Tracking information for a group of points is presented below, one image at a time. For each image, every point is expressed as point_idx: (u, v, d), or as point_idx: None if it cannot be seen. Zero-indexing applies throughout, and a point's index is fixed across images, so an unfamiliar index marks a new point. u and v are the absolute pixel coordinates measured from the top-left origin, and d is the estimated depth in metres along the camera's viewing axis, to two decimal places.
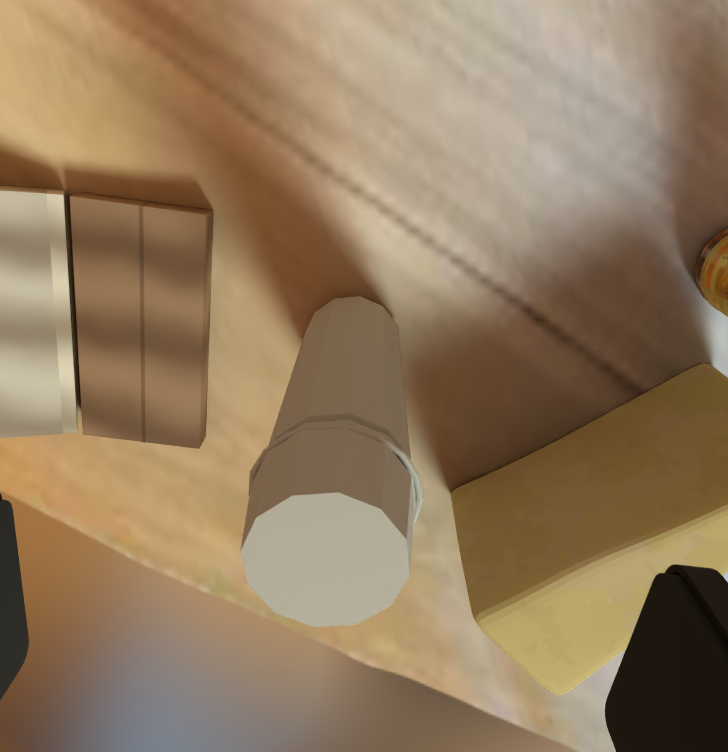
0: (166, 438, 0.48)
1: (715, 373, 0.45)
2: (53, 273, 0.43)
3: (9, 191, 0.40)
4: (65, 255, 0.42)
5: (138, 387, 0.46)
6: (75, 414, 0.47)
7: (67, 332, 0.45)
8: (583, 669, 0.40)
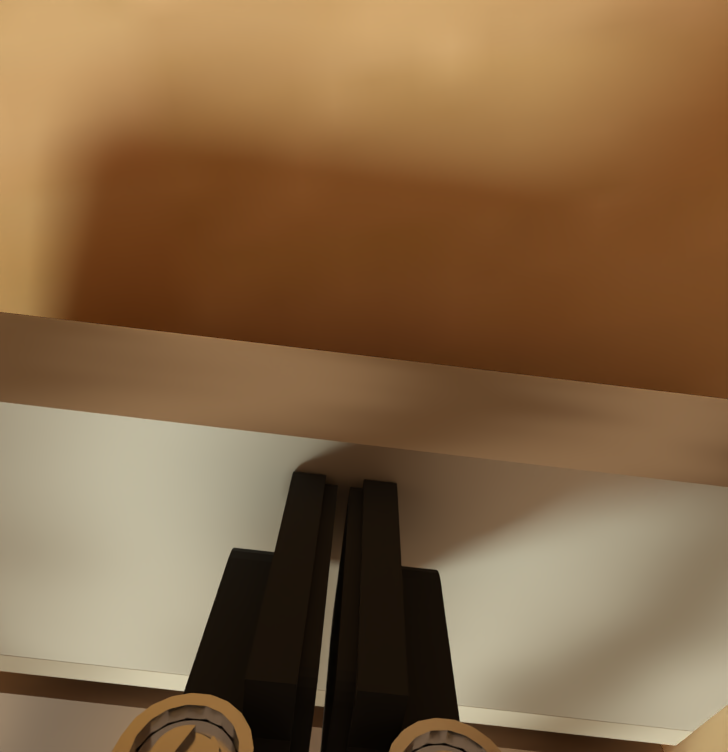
0: None
1: None
2: (476, 708, 0.15)
3: None
4: (519, 727, 0.16)
5: None
6: (32, 671, 0.16)
7: None
8: None
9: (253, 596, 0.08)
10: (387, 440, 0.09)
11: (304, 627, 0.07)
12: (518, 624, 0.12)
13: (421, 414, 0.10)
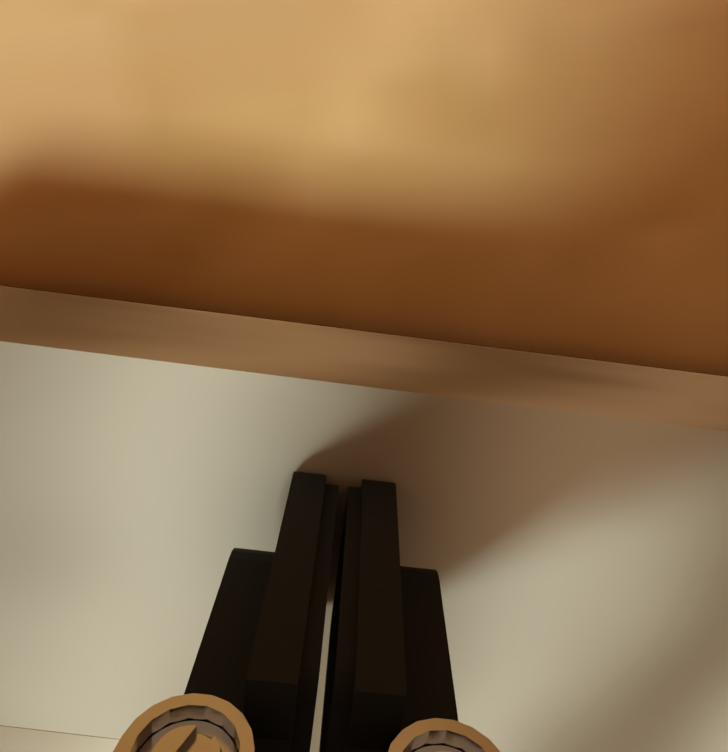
0: None
1: None
2: None
3: None
4: None
5: None
6: None
7: None
8: None
9: (253, 596, 0.08)
10: (423, 389, 0.09)
11: (305, 627, 0.07)
12: (558, 646, 0.11)
13: (453, 374, 0.10)
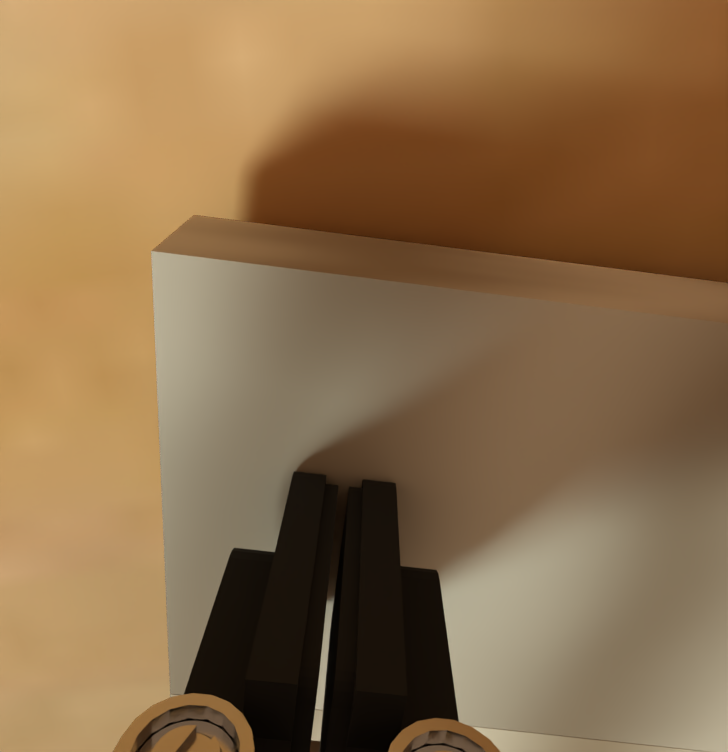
0: None
1: None
2: None
3: None
4: None
5: None
6: None
7: None
8: None
9: (254, 596, 0.08)
10: None
11: (305, 627, 0.07)
12: None
13: None
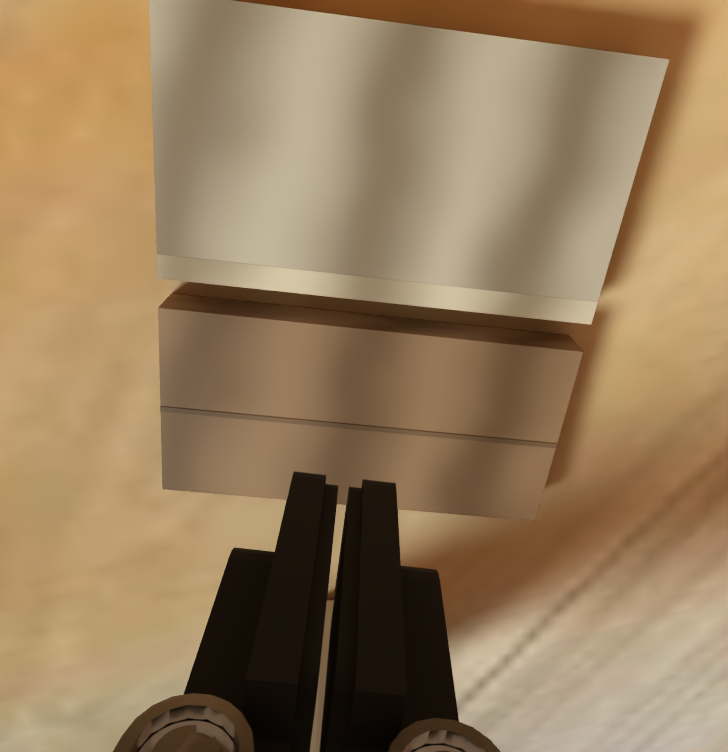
0: (173, 443, 0.28)
1: None
2: (470, 290, 0.25)
3: (611, 251, 0.25)
4: (496, 312, 0.26)
5: (265, 411, 0.27)
6: (197, 280, 0.25)
7: (362, 293, 0.25)
8: None
9: (254, 596, 0.08)
10: (424, 26, 0.21)
11: (305, 627, 0.07)
12: (488, 180, 0.23)
13: None
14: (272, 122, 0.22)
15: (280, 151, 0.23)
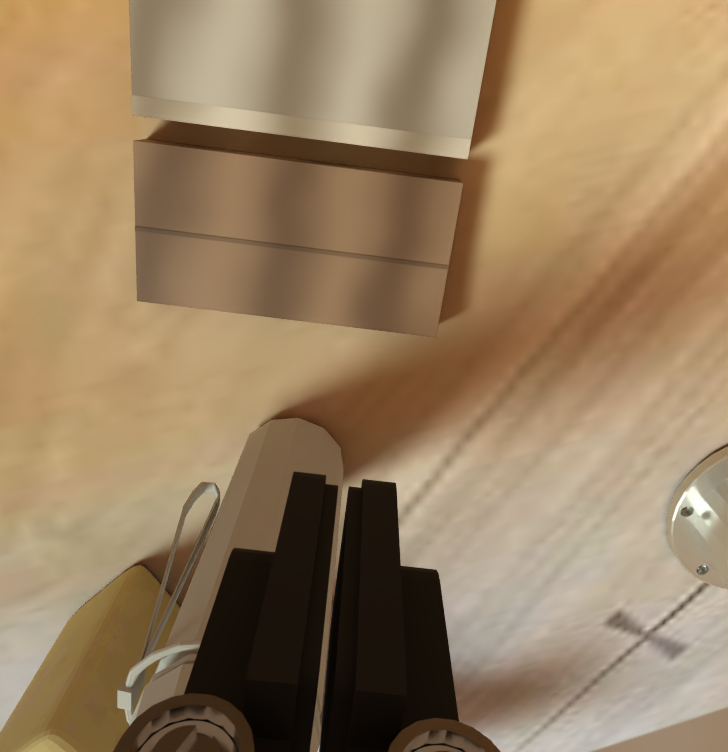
0: (145, 260, 0.36)
1: None
2: (371, 128, 0.33)
3: (478, 96, 0.32)
4: (393, 147, 0.33)
5: (216, 232, 0.35)
6: (162, 117, 0.33)
7: (288, 130, 0.33)
8: None
9: (254, 596, 0.08)
10: None
11: (305, 627, 0.07)
12: (379, 35, 0.31)
13: None
14: None
15: (222, 10, 0.31)
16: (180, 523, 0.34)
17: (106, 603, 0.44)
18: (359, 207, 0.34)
